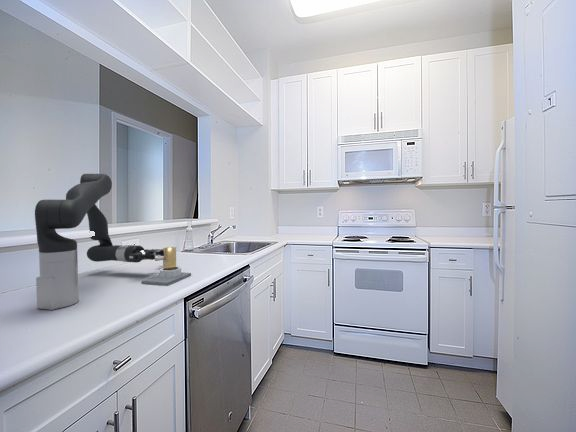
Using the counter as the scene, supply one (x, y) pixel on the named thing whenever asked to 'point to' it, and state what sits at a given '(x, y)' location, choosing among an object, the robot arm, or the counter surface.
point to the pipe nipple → (170, 258)
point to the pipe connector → (160, 258)
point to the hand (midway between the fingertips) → (161, 255)
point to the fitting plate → (166, 277)
